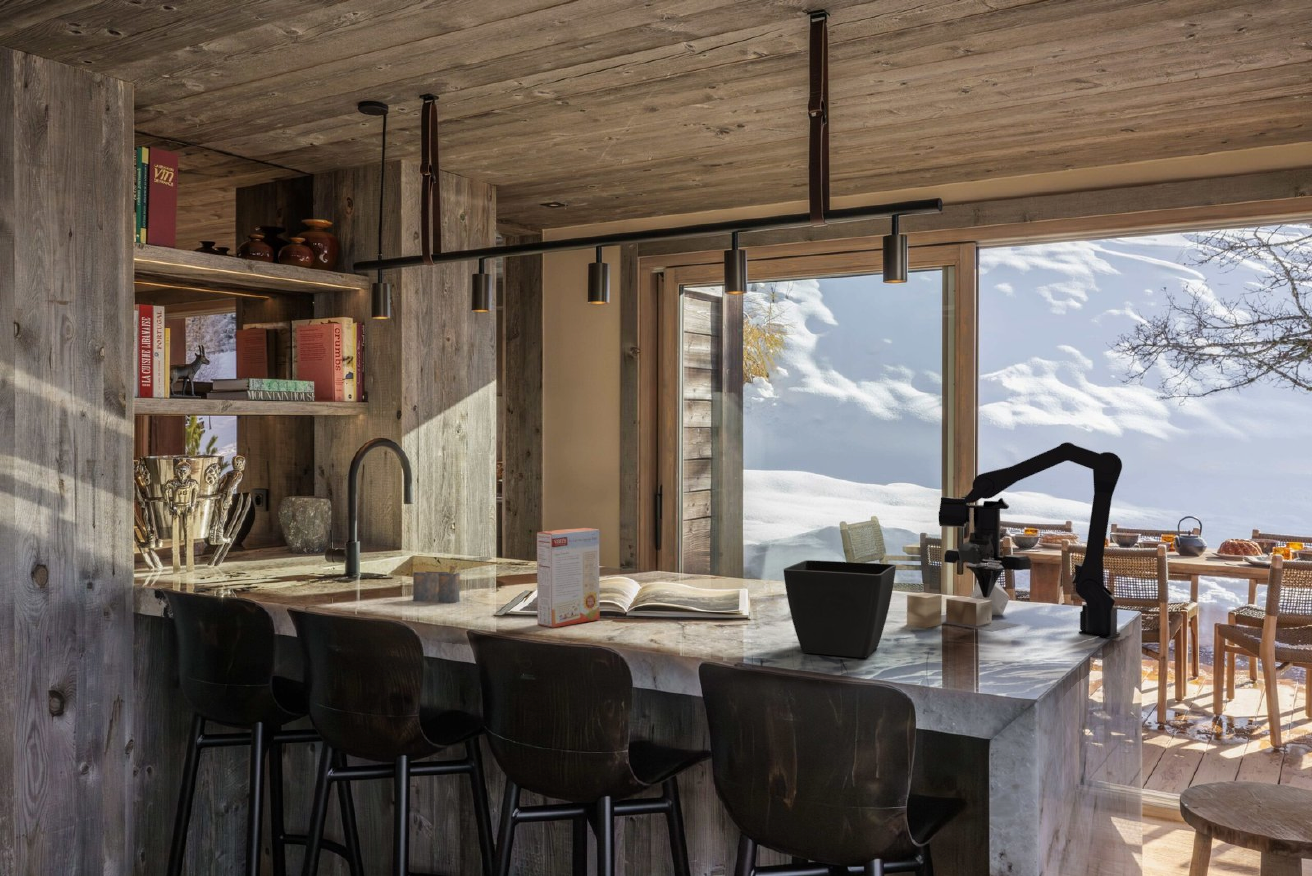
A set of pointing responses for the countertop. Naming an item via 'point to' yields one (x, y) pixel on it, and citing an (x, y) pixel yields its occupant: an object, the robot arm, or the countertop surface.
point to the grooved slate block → (436, 586)
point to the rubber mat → (988, 627)
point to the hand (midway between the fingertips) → (986, 597)
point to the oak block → (924, 609)
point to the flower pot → (839, 605)
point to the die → (993, 598)
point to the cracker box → (567, 576)
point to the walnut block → (969, 610)
